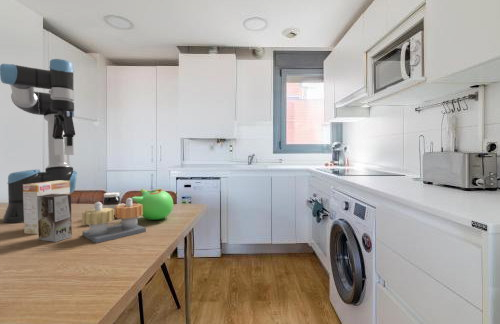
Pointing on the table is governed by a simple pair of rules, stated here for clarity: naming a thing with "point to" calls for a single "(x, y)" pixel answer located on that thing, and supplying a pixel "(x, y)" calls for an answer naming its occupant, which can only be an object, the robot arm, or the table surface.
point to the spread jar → (111, 201)
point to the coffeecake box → (31, 200)
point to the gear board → (114, 233)
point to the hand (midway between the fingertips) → (63, 154)
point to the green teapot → (155, 204)
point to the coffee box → (54, 217)
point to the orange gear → (128, 211)
